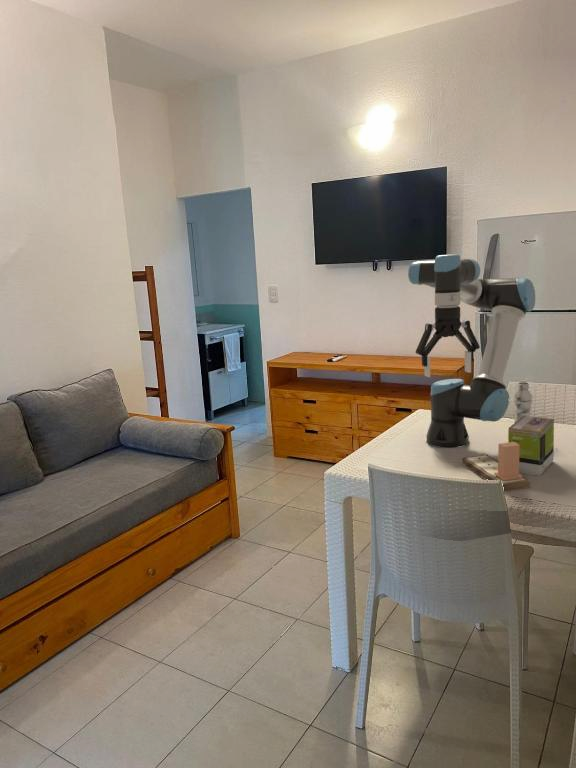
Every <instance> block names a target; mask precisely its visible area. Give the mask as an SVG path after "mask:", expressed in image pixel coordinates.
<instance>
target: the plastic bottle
mask: <svg viewBox="0 0 576 768" xmlns="http://www.w3.org/2000/svg"><path fill="white" fill-rule="evenodd" d="M517 389H518V390H517V391H516V392H515V393H514V395H513V402H514V422H513V424H514V423H515V422H517V421H518V420H519V419H520V418H521V417H523V416H531V411H532V404H533V395H532V393H531V392H530V390H529V389H530V383H529V382H525V381H521V382H518V385H517Z"/></svg>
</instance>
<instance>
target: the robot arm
mask: <svg viewBox="0 0 576 768" xmlns="http://www.w3.org/2000/svg"><path fill="white" fill-rule="evenodd" d="M480 275H481V267H480V264H479V262H477V261H476V260H475V259H471V258H463V259H461V256H460V254H458V253H454V254H453V253H450V254H441V255H436V257H435V259H434V260H421V261H420V260H419V261H414V262H412V263H411V264H410V265H409V266H408V272H407V276H408V280H409V282H410V284H412V285H418V286H421V285H425V286H428V287H431V288H432V289H434V306H436V307H435V308H434V320H435V321H434V324H433V323H425V325H424V332H423V334H422V336H421V338H420V340H419V342H418V345H417V348H416V349H415V354H416V355H419V356H421V366H422V367H424V377H427V378H431V355H430V353H431V351H433V349H434V347H435V346H436V345H437V343H438V342H439V341H440V340H441V339H442V338H448V337H455V338H457V339H458V341H459V342H460V343H461V345H462V346H463V347H465V349H466V350H464V372H466V373H470V374H471V373H472V362H474V353H475V352H476V350H479V349H480V343H479V341H478V339H477V338H476V336H475V334H474V332H473V330H472V327H471V321H470V320H468V319H463V320H462V321H461V307H460V305H461V302H462V303H464V304H466V305H470V306H472V307H475V308H478V309H481V310H487V311H491V313H492V315H493V316H494V317H493V320H492V324H491V327H490V330H489V331H490V332H489V335H488V337H487V340H486V344H485V345H486V346H485V348H484V353H483V356H482V359H481V362H480V367H479V369H478V374H477V375H476V376H474V377H473V378H472V379H471V382H470V384H465V380H464V379H461V378H448V379H441V380H438V381H435V382H433V383H432V384H431V386H430V394H429V396H430V416H431V417H430V424H429V427H428V429H427V433H426V443H427V444H429V445H431V446H433V447H438V448H445V449H452V448H454V449H455V448H461V447H465V446H466V445H468V444H469V442H470V436H469V432H468V430H467V426H466V424H465V419H472V420H477V421H482V422H495V423H496V422H497V421H498V422H499V421H500V420H501V419H502V418H503V417H504V416H505V414H506V412H507V410H508V407H509V404H510V401H509V399H510V394H509V392H508V391H509V390H507V385H505V383H504V378H505V374H506V372H507V367H508V363H509V359H510V355H511V353H512V348H513V344H514V340H515V338H516V334H517V329H518V326H519V324H520V321H522V320H524V319H525V316H526V313H527V312H531V311H533V309H534V308H535V305H536V290H535V286H534V283H533V282H532V281H531V280H530V279H529V278H523V277H522V278H520V277H516V278H479V276H480ZM461 327H462V328H463V331H464V333H465V334H466V337H467V338H468V340H467V338H466V337H465V336H464V335H463V333H462V332H461V331H460V328H461ZM434 330H435V332H434V333H433V335H432V332H433V331H434ZM431 335H432V337H431ZM429 339H430V340H429ZM428 341H429V342H428ZM464 418H465V419H464Z"/></svg>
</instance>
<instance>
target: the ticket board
mask: <svg viewBox="0 0 576 768" xmlns="http://www.w3.org/2000/svg"><path fill="white" fill-rule="evenodd" d="M461 462H462V463H463V466H465V467H466V468H468V469H469V468H470V469H469V470H471V471H472V470H473V471H472V472H474V473H475V474H476V473H477V475H478V476H479V475H480V476H479V477H481V476H482V477H483V478H482V477H481V478H482V479H484V478H485V479H488V480H501V481H502V483H503V487H504V491H503V492H506V491H512V490H513V489H514V490H517V489H518V490H519V489H520V490H521V489H526V487H527V488H530V483H531V481H530V480H529V479H528V478H526V477H525V476H523V475H522V478H517V479H510V480H502V479H501V478H499V477H498V476H496V475H495V472H498V459H496V458H494V457H492V456H490V455H489V454H488V453H487V454H481V455H473V456H468V457H467V456H466V457H465V456H464V457H462V458H461ZM485 479H484V480H485ZM514 490H513V491H514Z"/></svg>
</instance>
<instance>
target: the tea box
mask: <svg viewBox="0 0 576 768" xmlns="http://www.w3.org/2000/svg"><path fill="white" fill-rule="evenodd" d="M507 431H508V434H507V437H508V442H507V443H509V442H515V443H517V444H519V445H520V448H519V474H524V475H525V474H526V475H532V476H538V477H540V476H541V475H542V474H543V473H544V472H545V470H546V469H547V468H548V467H549V466H550V465H551V464H552V463H553V461H554V460H555V459H554V454H555V453H554V452H555V451H554V450H555V448H554V445H555V444H554V441H555V440H554V439H555V438H554V437H555V435H554V433H555V432H554V431H555V419H554V418H549V417H548V418H547V417H539V416H538V417H537V416H531V415H530V416H523V417H521V418H520V419H519V420H518V421H517V422H515V423H514V422H513V424H511V426H509V427H508V430H507Z"/></svg>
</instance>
